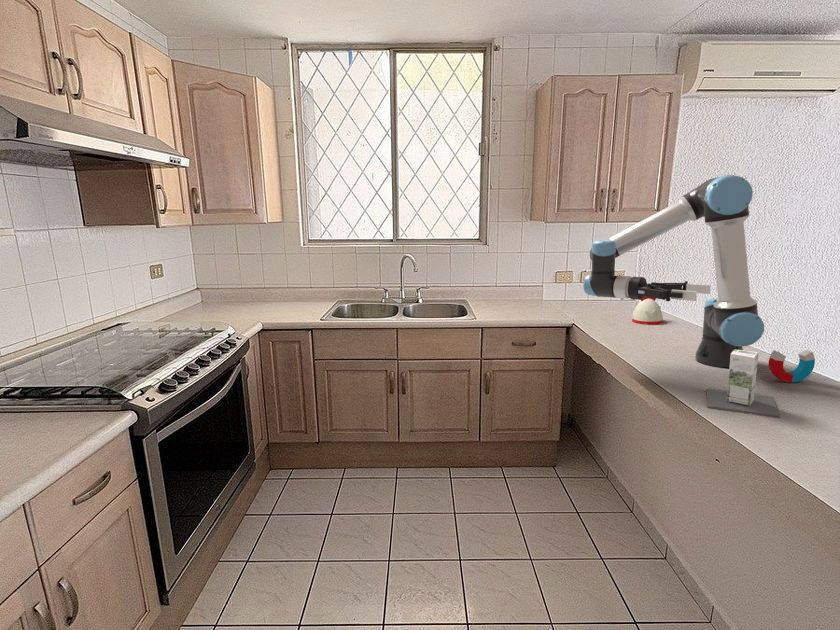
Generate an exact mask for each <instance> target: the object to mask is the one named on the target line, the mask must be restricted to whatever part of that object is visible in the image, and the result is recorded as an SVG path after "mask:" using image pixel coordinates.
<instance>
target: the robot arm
mask: <svg viewBox="0 0 840 630" xmlns="http://www.w3.org/2000/svg"><path fill="white" fill-rule="evenodd" d="M753 192H754V191H753V187H752V185H751V183H750V182H749V181H748V180H747V179H746V178H744V177H743V176H741V175H735V174H726V175H725V174H724V175H721V176H718V177H713V178H710V179H708V180H706V181H704V182H702V183H701V184H700V185H698V186H697V187H695V188H693V189H692V190H691V191H688V192H687V193H685V194H684V195H682V196H680V197H679V200H678V201H676V202H674V203H672V204H670V205H669V206H667V207H665V208H663V209H661V210H660V211H658V212H656V213H654V214H652V215H650V216H648V217H647V218H644V219H643V220H640V221H639V222H637V223H636V224H635V223H634V224H633V225H632V226H630V227H628V228H626V229H624V230H622V231H620V232H618V233H616V234H615V235H612V236H610V237H609V238H607V239H606V240H605V239H602V240H594V241H593V242H592V245H591V248H590V250H589V258H590V260H591V274H587V275H586V276H585V278H584V281H583V285H582V287H583V291H584V293H585V294H586V295H588V296H592V297H593V296H594V297H597V298H599V297H600V298H601V297H602V298H616V299H620V300H621V301H623V300H624V299H628V300H629V299H630V300H637V301H641V300H642V299H643V298H644V297H645V296H646V297H651V298H656V300H663V301H664V300H665V302H671V300H680V301H681V300H682V301H693V302H695V301H697V294H703V295H705V294H707V295H710V294H711V284H701V283H700V284H699V283H689V282H688V280H685V281H684V282H656V281H654V282H650V283H647V278H645V277H643V276H631V275H630V276H629V275H616V269H615V268H616V266H615V265H616V259H617V258H618V257H620V256H622V255H624V254H626V253H628V252H630V251H632V250H633V249H636V248H638V247H639V246H642V245H644V244H645V243H647V242H649V241H651V240H653V239H655V238H657V237H659V236H661V235H663V234H665V233H668V232H669V231H671V230H673V229H675V228H677V227H679V226H682V225H683V224H686V223H687V222H689V221H693V222H695V221H698V220H699V219H701V218H703V219H704V223H705V224H706V225H707V226H709V227H710V229H711V238H712V249H713V258H714V268H715V269H714V270H715V277H716V278H715V280H716V288H717V289H716V290H717V297H718V298H708V299H706V300H705V303H704V306H703V309H704V310H703V311H704V312H703V325H702V326H703V327H702V337H701V341H700V343H699V346H698V347H697V350H696V351H695V355H694V356H695V358H694V359H695V361H697V362H699V363H701V364H703V365H707V366H712V367H717V368H730V356H731V353H732V352H733V350H735V349H736V350H744V348H743V347H748V346H751V345H753V344H755V343H757V342H758V341H759V340H760V339H762V337H763V335H764V332H765V323H764V321H763V320H762V318H761V316H759V311H758V301H757V300H755V299H754V298H752V296H751V287H750V279H749V278H750V277H749V266H748V256H747V245H746V242H747V241H746V235H745V234H746V233H745V224H744V223H745V221H746V220H747V219H748V218H749V217H750V210H749V209H750V208H749V205H750V204H751V202H752V199H753V195H754V193H753Z"/></svg>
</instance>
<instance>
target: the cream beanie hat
mask: <svg viewBox="0 0 840 630" xmlns="http://www.w3.org/2000/svg"><path fill="white" fill-rule="evenodd" d="M656 300H657V298H651V297H646V296H645V297H644V298H643V299H642V300H640V301H639V302H638V304H637V305H636V307H635V308H634V310H633V314H632V317H631V322H633V323H634V324H638V325H646V326H649V325H650V326H655V325H661V324H663V322H664V317H663V312H662V309H661V306H660V304H658V302H656Z"/></svg>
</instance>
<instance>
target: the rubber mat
mask: <svg viewBox="0 0 840 630" xmlns="http://www.w3.org/2000/svg"><path fill="white" fill-rule="evenodd" d="M706 389H707V390H706V401H707V404H706V405H707V406H706V407H707V409H714V408H715V409H716V410H721V409H723V410H722V411H728V410H730V412H735V411H737V413H742V412H743V414H749V413H752V414H751V415H756V414H757V416H764V417H772V418H780V414H779V410H778V408H777V406H776V405H777V404H776V402H775V399H774V397H773V396H771V395H770V396H769V395H761V394H754V400H753V402H752V404H751V405H750V406H746V405H741V404H736V403H731V402H727V390H720V389H714V388H713V389H711V388H706Z"/></svg>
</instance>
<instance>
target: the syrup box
mask: <svg viewBox="0 0 840 630" xmlns="http://www.w3.org/2000/svg"><path fill="white" fill-rule="evenodd" d="M759 354H760V353H759V352H758V351H751V350H744V349H743V350H736V349H735V350H733V352H732V353H731V356H730V367H728V368H729V370H728V380H727V390H726V391H727V402H731V403H736V404H741V405H746V406H750V405H751V404H752V402H753V400H754V395H755V389H756V381H757V380H756V379H757V371H758V362H759Z"/></svg>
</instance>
